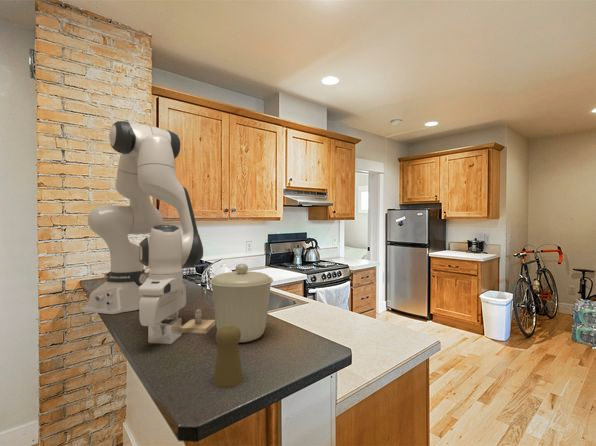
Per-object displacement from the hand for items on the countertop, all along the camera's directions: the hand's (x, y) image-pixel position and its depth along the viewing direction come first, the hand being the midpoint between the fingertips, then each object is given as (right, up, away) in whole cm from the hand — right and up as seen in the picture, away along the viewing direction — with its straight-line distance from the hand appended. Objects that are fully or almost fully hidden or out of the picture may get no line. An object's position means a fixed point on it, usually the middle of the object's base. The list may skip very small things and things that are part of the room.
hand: (165, 331), depth 87 cm
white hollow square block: (0, -2, 0) cm, 2 cm away
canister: (+21, -2, +2) cm, 21 cm away
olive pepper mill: (+23, -3, -22) cm, 32 cm away
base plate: (+6, -2, +9) cm, 11 cm away
